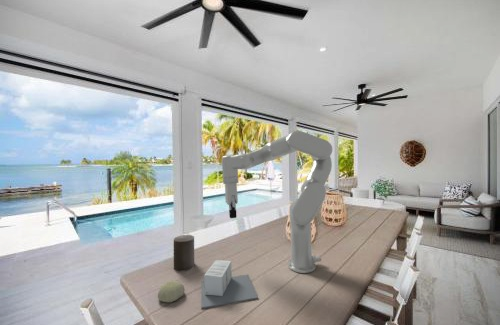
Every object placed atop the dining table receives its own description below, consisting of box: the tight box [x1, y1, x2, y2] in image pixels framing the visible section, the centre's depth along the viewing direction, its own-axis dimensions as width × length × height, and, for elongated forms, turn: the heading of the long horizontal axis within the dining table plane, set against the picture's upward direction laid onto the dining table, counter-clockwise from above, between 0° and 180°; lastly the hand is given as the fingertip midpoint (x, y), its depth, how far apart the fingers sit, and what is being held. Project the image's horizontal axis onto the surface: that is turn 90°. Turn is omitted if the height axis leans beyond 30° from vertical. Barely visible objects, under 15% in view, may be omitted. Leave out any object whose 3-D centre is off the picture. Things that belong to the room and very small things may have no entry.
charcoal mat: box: [200, 274, 259, 310], centre depth 80 cm, size 20×16×1 cm
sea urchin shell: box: [157, 280, 185, 304], centre depth 78 cm, size 9×8×8 cm
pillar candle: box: [173, 234, 195, 272], centre depth 101 cm, size 10×10×15 cm
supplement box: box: [203, 259, 233, 296], centre depth 82 cm, size 7×7×13 cm
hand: (233, 217), depth 101 cm, fingers closed
